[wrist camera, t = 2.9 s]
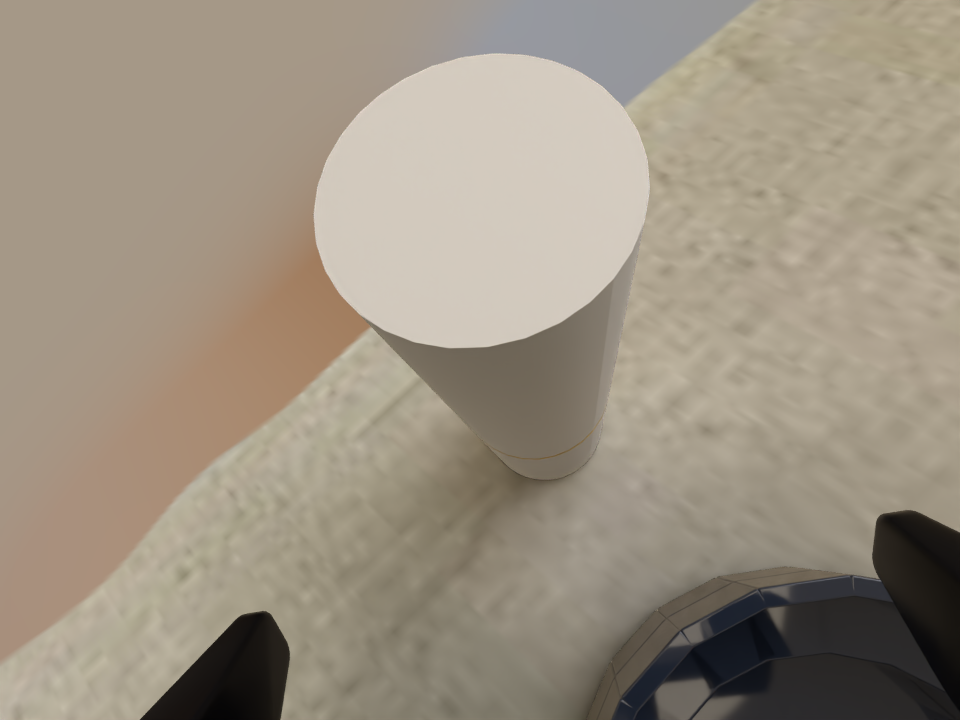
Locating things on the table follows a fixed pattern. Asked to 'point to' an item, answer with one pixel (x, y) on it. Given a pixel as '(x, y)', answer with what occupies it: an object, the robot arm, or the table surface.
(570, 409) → the tube
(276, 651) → the robot arm
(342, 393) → the table surface
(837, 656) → the bowl
